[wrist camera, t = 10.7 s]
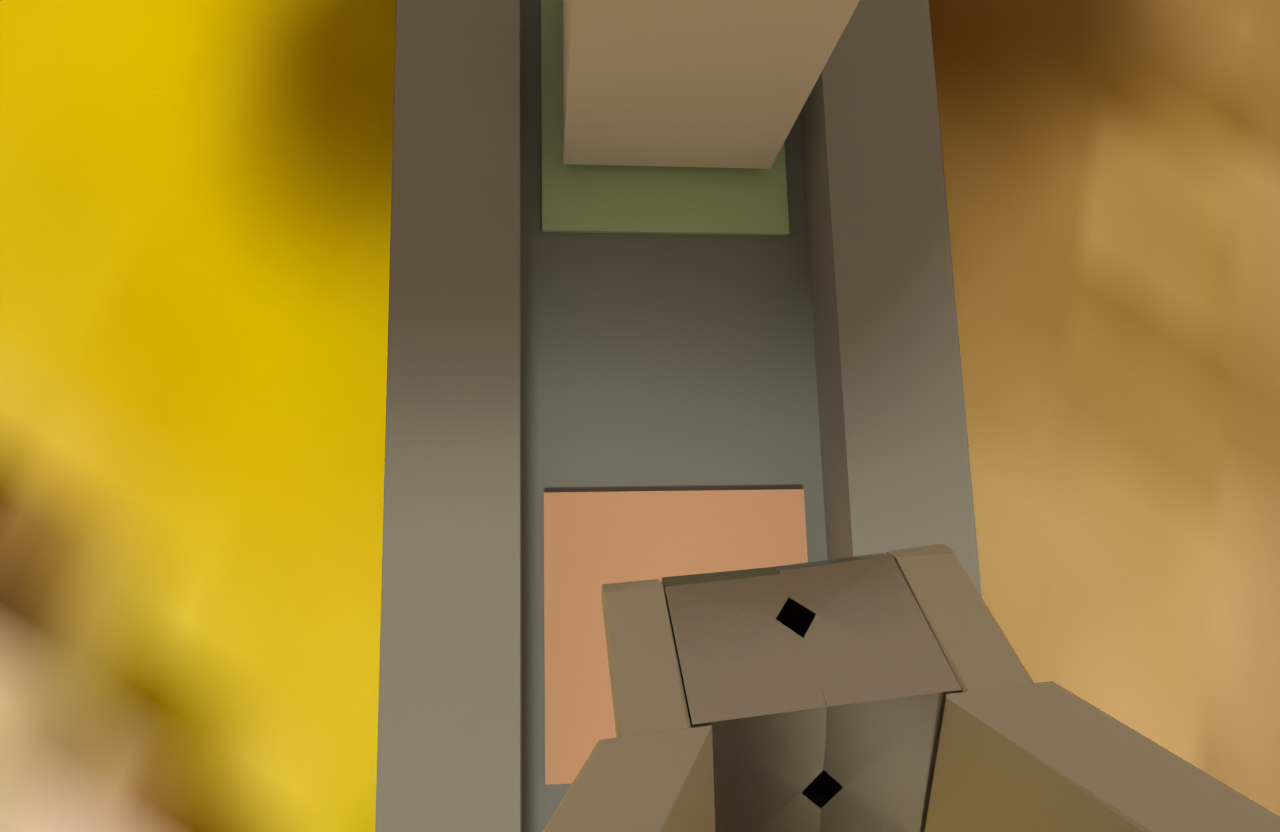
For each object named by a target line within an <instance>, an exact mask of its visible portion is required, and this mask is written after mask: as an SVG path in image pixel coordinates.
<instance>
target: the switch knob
mask: <svg viewBox="0 0 1280 832" xmlns="http://www.w3.org/2000/svg"><path fill="white" fill-rule="evenodd" d="M859 1H860V0H562V94H563V164H582V165H625V166H668V167H712V168H755V169H770V168H771V166H772V164H773V162H774V160H775V158H776V157H777V155H778V153H779V151H780V149H781V147H782V145H783V143H784V142H785V140H786V138H787V136H788V134H789V132H790V130H791V128H792V127H793V125H794V123H795V121H796V119H797V117H798V115H799V113H800V112H801V110H802V108H803V106H804V104H805V102H806V100H807V98H808V97H809V95H810V93H811V91H812V89H813V87H814V85H815V83H816V82H817V80H818V78H819V76H820V74H821V72H822V70H823V68H824V67H825V65H826V63H827V61H828V59H829V57H830V55H831V53H832V52H833V50H834V48H835V46H836V44H837V42H838V40H839V38H840V37H841V35H842V33H843V31H844V29H845V27H846V25H847V24H848V22H849V20H850V18H851V16H852V14H853V12H854V10H855V9H856V7H857V5H858V3H859Z"/></svg>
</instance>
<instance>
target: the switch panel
mask: <svg viewBox="0 0 1280 832" xmlns="http://www.w3.org/2000/svg"><path fill="white" fill-rule="evenodd" d="M936 544H944V545H946V546H947V547H949V548H950V549H952V550H953V551H954V553H955V554H956V556H957V558H958V559H959V561H960V563H961V564H962V566H963V568H964V569H965V571H966V572H967V574H968V576H969V577H970V579H971V581H972V582H973V584H974V586H975V587H976V589H977V590H978V592H979V594H980V595H981V585H980V574H979V563H978V551H977V540H976V529H975V517H974V506H973V495H972V484H971V472H970V461H969V450H968V438H967V427H966V416H965V405H964V393H963V382H962V371H961V359H960V348H959V337H958V325H957V314H956V303H955V292H954V280H953V269H952V258H951V246H950V235H949V224H948V212H947V201H946V190H945V179H944V167H943V156H942V145H941V133H940V122H939V111H938V100H937V88H936V77H935V66H934V54H933V43H932V32H931V20H930V9H929V0H860V1H859V3H858V5H857V7H856V9H855V10H854V12H853V14H852V16H851V18H850V20H849V22H848V24H847V25H846V27H845V29H844V31H843V33H842V35H841V37H840V38H839V40H838V42H837V44H836V46H835V48H834V50H833V52H832V53H831V55H830V57H829V59H828V61H827V63H826V65H825V67H824V68H823V70H822V72H821V74H820V76H819V78H818V80H817V82H816V83H815V85H814V87H813V89H812V91H811V93H810V95H809V97H808V98H807V100H806V102H805V104H804V106H803V108H802V110H801V112H800V113H799V115H798V117H797V119H796V121H795V123H794V125H793V127H792V128H791V130H790V132H789V134H788V136H787V138H786V140H785V142H784V143H783V145H782V147H781V149H780V151H779V153H778V155H777V157H776V158H775V160H774V162H773V164H772V166H771V168H770V169H755V168H712V167H668V166H625V165H582V164H563V94H562V0H397V5H396V44H395V83H394V123H393V162H392V201H391V240H390V280H389V319H388V358H387V398H386V437H385V476H384V516H383V555H382V594H381V634H380V673H379V712H378V751H377V791H376V830H375V832H543V830H544V828H545V827H546V825H547V823H548V822H549V820H550V819H551V817H552V815H553V814H554V812H555V810H556V809H557V807H558V806H559V804H560V802H561V801H562V799H563V797H564V796H565V794H566V793H567V791H568V789H569V788H570V786H571V784H572V783H573V781H574V780H575V778H576V776H577V775H578V773H579V771H580V770H581V768H582V767H583V765H584V763H585V762H586V760H587V758H588V757H589V755H590V754H591V752H592V750H593V749H594V747H595V745H596V744H597V742H598V741H599V740H602V739H609V738H615V737H616V731H615V722H614V712H613V703H612V693H611V684H610V674H609V665H608V655H607V646H606V636H605V627H604V617H603V608H602V598H601V595H602V584H611V583H621V582H632V581H643V580H653V579H659V580H660V582H661V578H662V577H672V576H683V575H693V574H703V573H714V572H724V571H735V570H745V569H755V568H766V567H774V566H782V565H790V564H798V563H806V562H814V561H822V560H829V559H837V558H845V557H853V556H861V555H869V554H877V553H884V554H885V553H886V552H887V551H893V550H900V549H907V548H915V547H922V546H929V545H936Z"/></svg>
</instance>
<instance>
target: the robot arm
mask: <svg viewBox="0 0 1280 832" xmlns="http://www.w3.org/2000/svg"><path fill="white" fill-rule="evenodd" d="M601 598H602V608H603V617H604V627H605V636H606V646H607V655H608V665H609V674H610V684H611V693H612V703H613V712H614V722H615V731H616V737H615V738H609V739H602V740H599V741H598V742H597V744H596V745H595V747H594V749H593V750H592V752H591V754H590V755H589V757H588V758H587V760H586V762H585V763H584V765H583V767H582V768H581V770H580V771H579V773H578V775H577V776H576V778H575V780H574V781H573V783H572V784H571V786H570V788H569V789H568V791H567V793H566V794H565V796H564V797H563V799H562V801H561V802H560V804H559V806H558V807H557V809H556V810H555V812H554V814H553V815H552V817H551V819H550V820H549V822H548V823H547V825H546V827H545V828H544V830H543V832H1280V817H1279V816H1277V815H1276V814H1274V813H1272V812H1271V811H1269V810H1267V809H1266V808H1264V807H1262V806H1261V805H1259V804H1257V803H1255V802H1254V801H1252V800H1250V799H1249V798H1247V797H1245V796H1244V795H1242V794H1240V793H1239V792H1237V791H1235V790H1234V789H1232V788H1230V787H1229V786H1227V785H1225V784H1224V783H1222V782H1220V781H1219V780H1217V779H1215V778H1214V777H1212V776H1210V775H1209V774H1207V773H1205V772H1204V771H1202V770H1200V769H1199V768H1197V767H1195V766H1193V765H1192V764H1190V763H1188V762H1187V761H1185V760H1183V759H1182V758H1180V757H1178V756H1177V755H1175V754H1173V753H1172V752H1170V751H1168V750H1167V749H1165V748H1163V747H1162V746H1160V745H1158V744H1157V743H1155V742H1153V741H1152V740H1150V739H1148V738H1147V737H1145V736H1143V735H1142V734H1140V733H1138V732H1137V731H1135V730H1133V729H1131V728H1130V727H1128V726H1126V725H1125V724H1123V723H1121V722H1120V721H1118V720H1116V719H1115V718H1113V717H1111V716H1110V715H1108V714H1106V713H1105V712H1103V711H1101V710H1100V709H1098V708H1096V707H1095V706H1093V705H1091V704H1090V703H1088V702H1086V701H1085V700H1083V699H1081V698H1080V697H1078V696H1076V695H1075V694H1073V693H1071V692H1069V691H1068V690H1066V689H1064V688H1063V687H1061V686H1059V685H1058V684H1056V683H1054V682H1053V681H1051V682H1041V683H1034V682H1033V681H1032V679H1031V677H1030V676H1029V674H1028V672H1027V671H1026V669H1025V667H1024V666H1023V664H1022V663H1021V661H1020V659H1019V658H1018V656H1017V654H1016V653H1015V651H1014V649H1013V648H1012V646H1011V645H1010V643H1009V641H1008V640H1007V638H1006V636H1005V635H1004V633H1003V631H1002V630H1001V628H1000V627H999V625H998V623H997V622H996V620H995V618H994V617H993V615H992V613H991V612H990V610H989V608H988V607H987V605H986V604H985V602H984V600H983V599H982V597H981V595H980V594H979V592H978V590H977V589H976V587H975V586H974V584H973V582H972V581H971V579H970V577H969V576H968V574H967V572H966V571H965V569H964V568H963V566H962V564H961V563H960V561H959V559H958V558H957V556H956V554H955V553H954V551H953V550H952V549H950V548H949V547H947V546H946V545H944V544H936V545H929V546H922V547H915V548H907V549H900V550H893V551H887V552H886V553H885V554H884V553H877V554H869V555H861V556H853V557H845V558H837V559H829V560H822V561H814V562H806V563H798V564H790V565H782V566H774V567H766V568H755V569H745V570H735V571H724V572H714V573H703V574H693V575H683V576H672V577H662V578H661V582H660V580H659V579H653V580H643V581H632V582H621V583H611V584H602V595H601Z"/></svg>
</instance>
